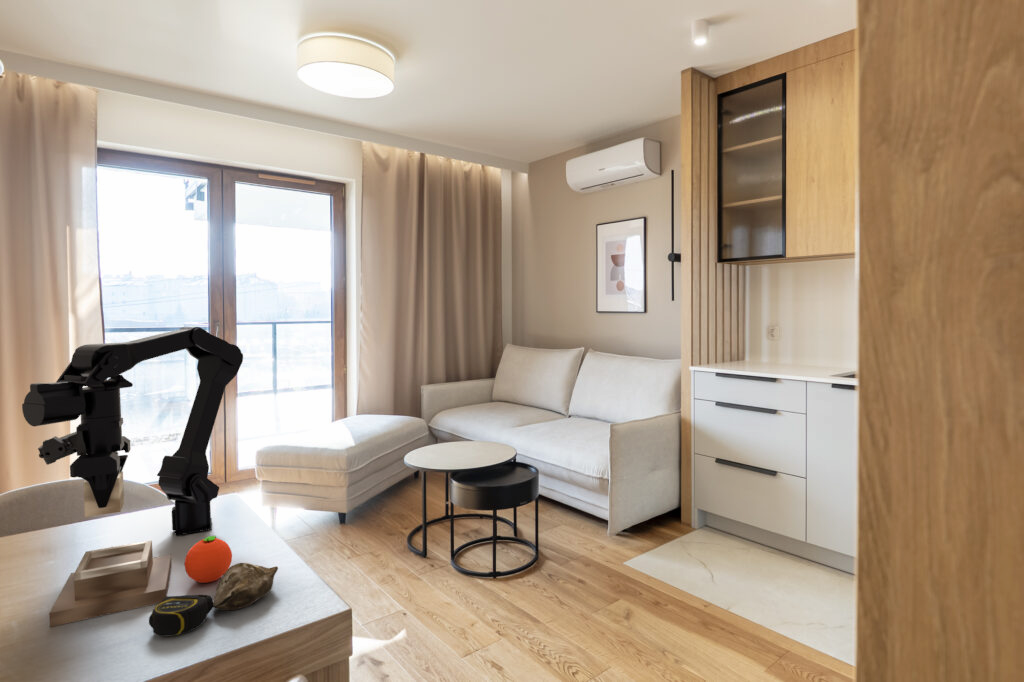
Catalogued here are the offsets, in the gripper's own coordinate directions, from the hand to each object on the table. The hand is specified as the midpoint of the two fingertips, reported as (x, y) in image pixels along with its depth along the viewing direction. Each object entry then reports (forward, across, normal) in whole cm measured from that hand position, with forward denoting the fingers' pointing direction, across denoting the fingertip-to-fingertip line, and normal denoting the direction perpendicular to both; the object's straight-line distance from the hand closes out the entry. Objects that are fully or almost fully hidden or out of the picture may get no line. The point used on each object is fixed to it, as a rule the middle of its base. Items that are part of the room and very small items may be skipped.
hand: (105, 503), depth 98 cm
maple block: (+1, 0, 0) cm, 1 cm away
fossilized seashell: (+11, +26, +21) cm, 36 cm away
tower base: (+11, +14, +3) cm, 18 cm away
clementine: (+11, +16, +16) cm, 25 cm away
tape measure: (+11, +30, +12) cm, 34 cm away
